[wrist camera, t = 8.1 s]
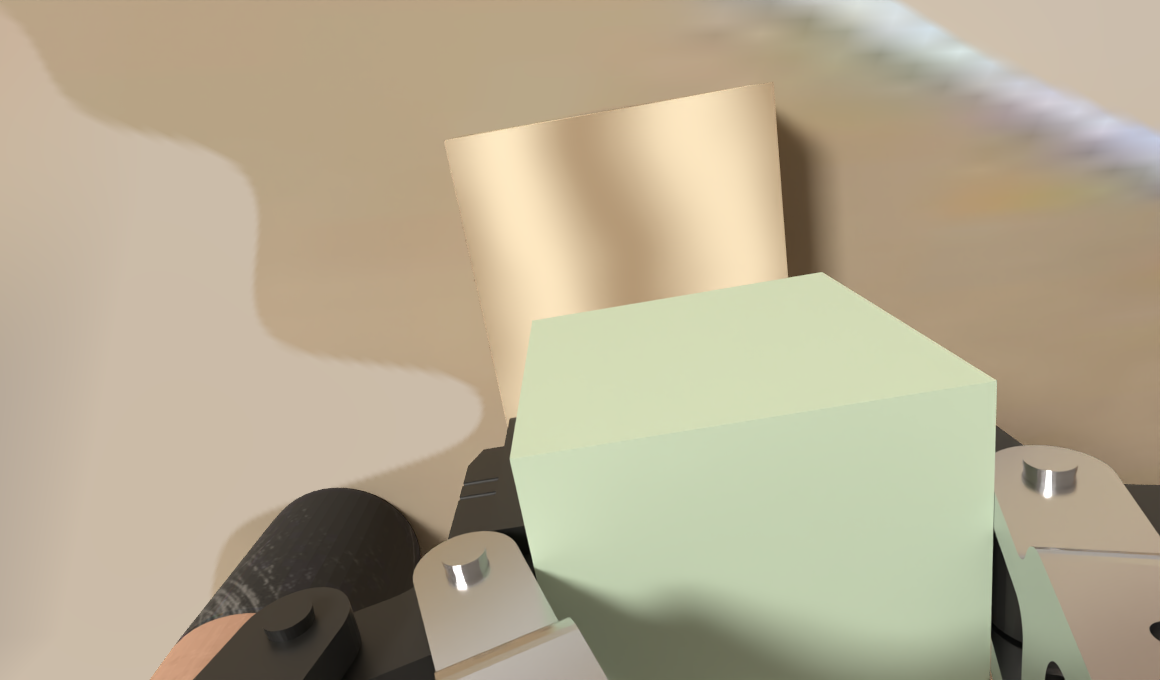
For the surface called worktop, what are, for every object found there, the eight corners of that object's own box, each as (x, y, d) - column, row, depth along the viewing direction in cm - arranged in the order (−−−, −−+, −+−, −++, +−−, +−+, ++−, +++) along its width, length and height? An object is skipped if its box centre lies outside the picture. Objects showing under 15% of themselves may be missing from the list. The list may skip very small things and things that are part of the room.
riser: (743, 86, 26) (773, 81, 22) (766, 354, 30) (796, 389, 26) (461, 136, 27) (443, 140, 23) (516, 394, 30) (509, 435, 26)
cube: (822, 272, 12) (996, 380, 7) (836, 523, 13) (987, 752, 8) (532, 320, 12) (510, 459, 7) (580, 563, 13) (588, 809, 9)
